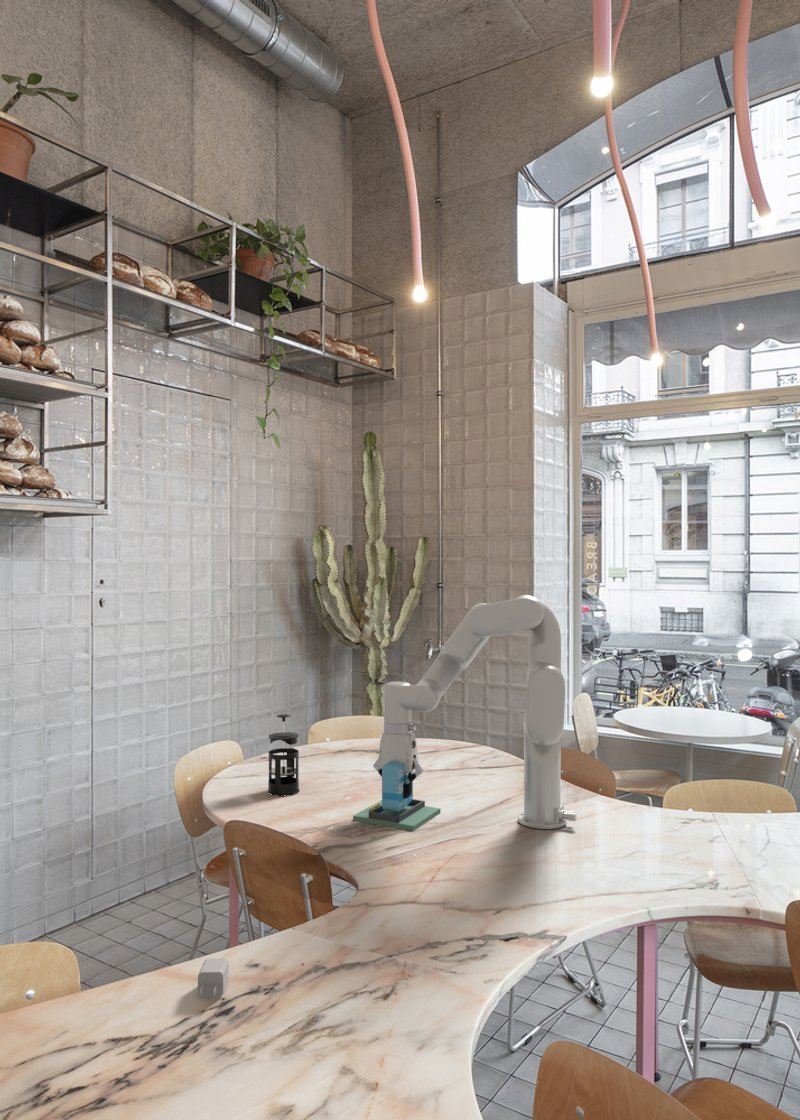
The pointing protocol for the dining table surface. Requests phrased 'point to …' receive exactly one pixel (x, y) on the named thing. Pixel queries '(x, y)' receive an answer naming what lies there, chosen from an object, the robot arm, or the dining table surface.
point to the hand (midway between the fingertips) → (397, 795)
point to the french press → (279, 783)
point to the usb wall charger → (213, 977)
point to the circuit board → (399, 815)
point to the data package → (394, 788)
